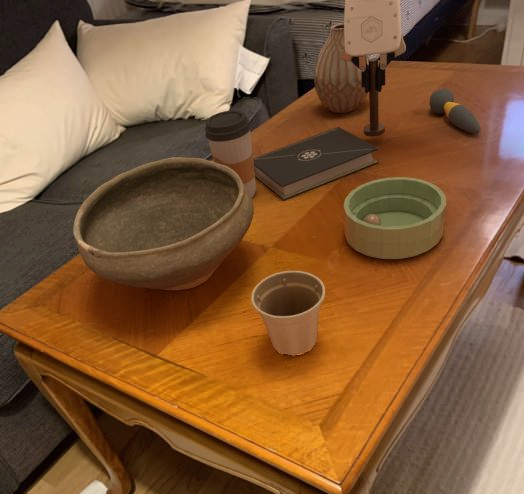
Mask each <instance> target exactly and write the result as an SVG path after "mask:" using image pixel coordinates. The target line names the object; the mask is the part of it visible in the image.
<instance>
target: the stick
mask: <svg viewBox="0 0 524 494" xmlns="http://www.w3.org/2000/svg"><path fill="white" fill-rule="evenodd" d="M368 65H369V92H368V103H369V105H368V107H369V124H366V125H365V126H364V127H363V135H364V136H366V137H370V138H373V137H379V136H382V135H383V134H385V132H386V126H385V124H384V123H381V122H380V121H379V119H380V118H379V115H380V113H379V91H378V88H377V70H378V67H379V59H378V58H377V57H373V58H369V60H368Z"/></svg>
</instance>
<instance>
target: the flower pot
mask: <svg viewBox="0 0 524 494" xmlns="http://www.w3.org/2000/svg"><path fill="white" fill-rule="evenodd" d="M325 296H326V287H325V284H324V282H323V281H322V280H321V279H320V278H319V277H318V276H317V275H315V274H313V273H310V272H307V271H304V270H303V271H302V270H284V271H279V272H276V273H272V274H271V275H268V276H267V277H265V278H263V279H261V280H260V281H259V282H258V283H257V284H256V285H255V286H254V287H253V290H252V291H251V295H250V300H251V304H252V306H253V308H254V310H256V311H257V313H258V315H259V316H260V317H261V318H262V321H263V323H264V326H265V328H266V332H267V334H268V337H269V340H270V342H271V345H272V347H273V349H274V348H275V349H276V350H277V351H279V352H280V353H283V354H288V355H287V356H290V355H297V354H300V353H304V352H305V351H308V350H309V349H310V348H312V347H313V346H314V345H315V346H316V344H317V342H318V330H319V317H320V309H321V307H322V304H323V302H324V300H325ZM315 343H316V344H315ZM315 346H314V347H315ZM314 347H313V348H314ZM275 349H274V350H275ZM276 350H275V351H276ZM277 351H276V352H277ZM280 353H279V354H280Z"/></svg>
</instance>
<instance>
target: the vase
mask: <svg viewBox="0 0 524 494" xmlns="http://www.w3.org/2000/svg"><path fill="white" fill-rule="evenodd" d="M329 29H330V30H329V34H328V37H327V39H326V41H325V42H324V44H323V46H322V47H321V50H320V52H319V54H318V56H317V59H316V61H315V65H314V72H313V82H314V89H315V92H316V96H317V98H318V99H319V101H320V102H321V104H322V105H323V106H324V107H325V108H326V109H327V110H329V111H330V112H331V113H333V114H334V113H335V114H347V113H350V112H354V111H356V109H358V107H360V106H361V104H363V102H364V101H365V100H366V97H367V96H368V95H369V92H368V93H365V87H363V88H362V79H361V71H360V70H359V68H358V67H356V66H355V65H354V64H353V63H352V62H349V61H346V60H343V59H341V55H342V51H343V48H344V45H345V41H344V22H340V23H335V24H333V25H331V26H330V28H329ZM369 59H370V58H369V55H367V64H368V60H369ZM368 66H369V65H368Z"/></svg>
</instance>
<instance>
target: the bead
mask: <svg viewBox="0 0 524 494" xmlns="http://www.w3.org/2000/svg"><path fill="white" fill-rule="evenodd" d="M363 221H364V222H366V223H369V224H373V225H379V226H381V219H380V217H379V216H378V215H376V214H369V215H367V216H366V217H365V218H364V220H363Z"/></svg>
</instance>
